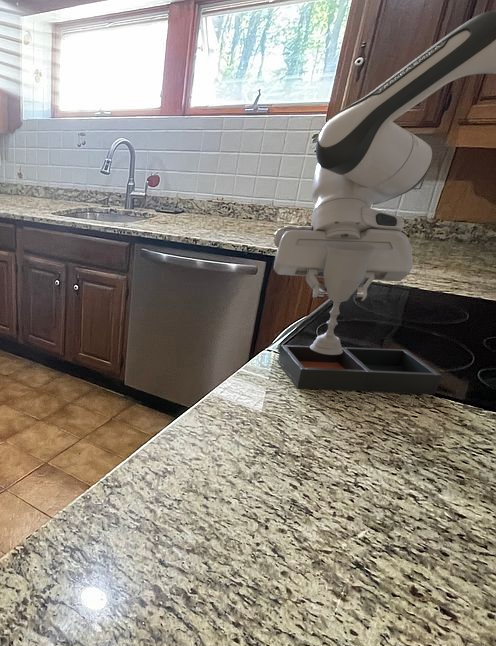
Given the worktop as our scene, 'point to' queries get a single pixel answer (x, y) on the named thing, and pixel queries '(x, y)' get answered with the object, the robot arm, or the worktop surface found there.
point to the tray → (359, 370)
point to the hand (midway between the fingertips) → (339, 297)
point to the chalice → (341, 285)
